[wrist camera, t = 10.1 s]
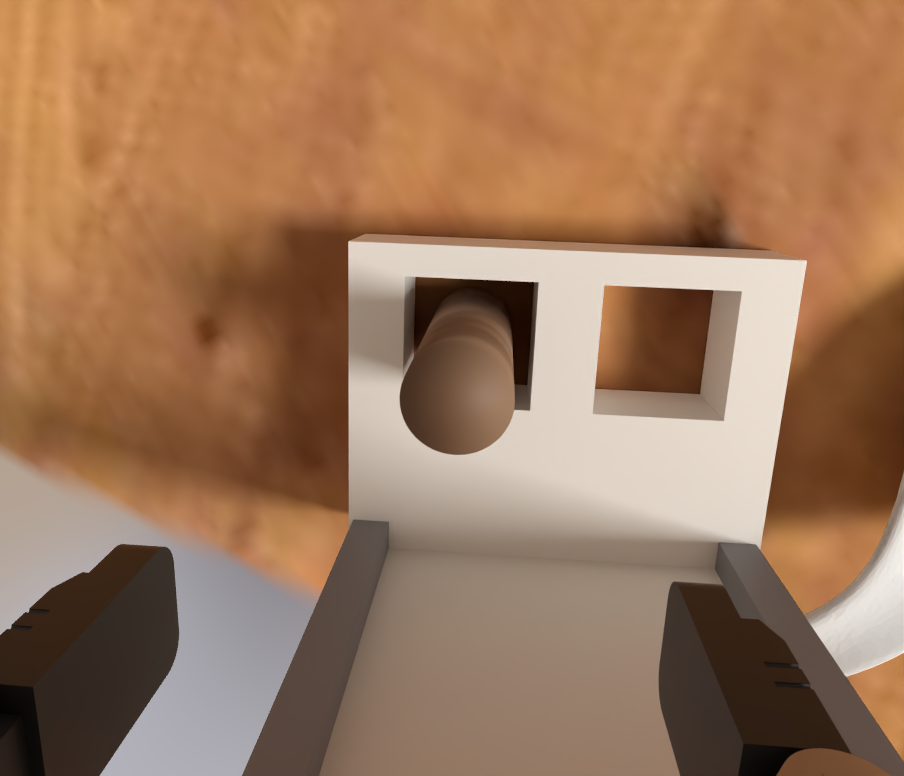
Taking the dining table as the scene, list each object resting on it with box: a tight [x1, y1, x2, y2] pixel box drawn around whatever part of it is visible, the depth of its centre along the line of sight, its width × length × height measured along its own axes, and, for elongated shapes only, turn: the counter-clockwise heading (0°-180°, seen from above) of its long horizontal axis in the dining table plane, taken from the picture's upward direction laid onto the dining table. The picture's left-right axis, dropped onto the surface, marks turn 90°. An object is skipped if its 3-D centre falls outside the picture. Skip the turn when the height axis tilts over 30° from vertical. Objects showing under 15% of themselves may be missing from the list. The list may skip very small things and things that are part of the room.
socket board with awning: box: [242, 234, 904, 776], centre depth 25 cm, size 18×14×23 cm
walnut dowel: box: [399, 287, 515, 455], centre depth 29 cm, size 4×4×12 cm
